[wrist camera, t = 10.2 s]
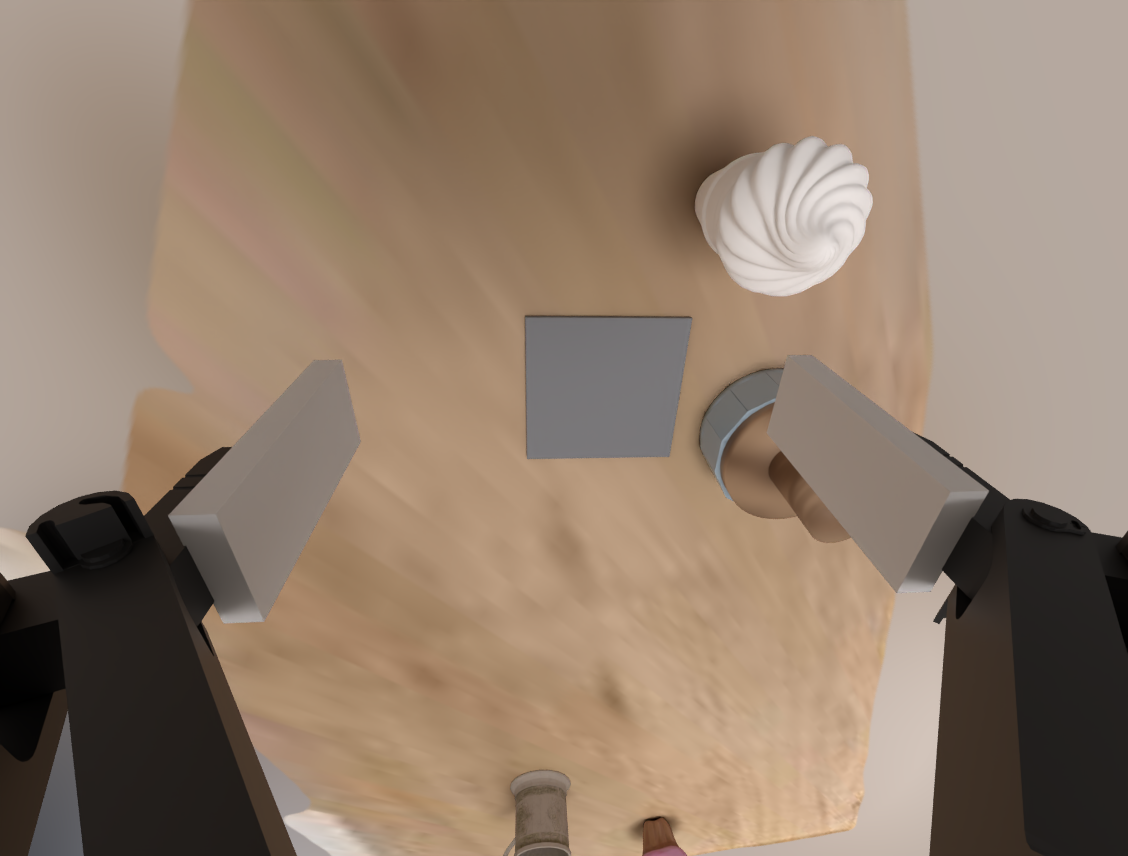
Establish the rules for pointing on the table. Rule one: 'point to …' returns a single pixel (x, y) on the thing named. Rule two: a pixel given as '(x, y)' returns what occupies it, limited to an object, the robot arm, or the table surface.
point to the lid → (772, 480)
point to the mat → (603, 385)
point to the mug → (540, 814)
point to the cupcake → (659, 839)
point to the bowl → (735, 414)
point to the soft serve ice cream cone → (785, 215)
